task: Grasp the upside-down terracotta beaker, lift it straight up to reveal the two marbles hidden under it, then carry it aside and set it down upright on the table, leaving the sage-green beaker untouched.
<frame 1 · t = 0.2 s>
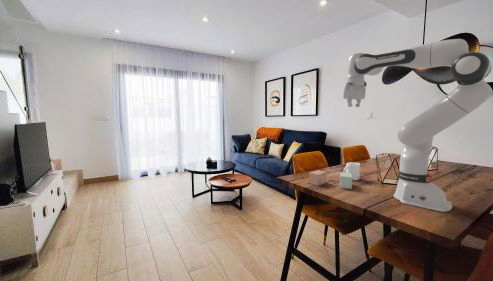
hand: (353, 106, 128), 47 cm above the table, fingers open, 8 cm apart
marble amber: (315, 183, 136), on the table
marble blue: (319, 182, 138), on the table
mug: (350, 179, 144), on the table
cup sage: (345, 185, 131), on the table
cup terracotta: (317, 183, 137), on the table
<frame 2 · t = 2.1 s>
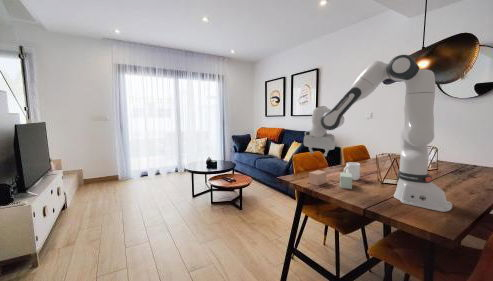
hand: (318, 155, 134), 18 cm above the table, fingers open, 8 cm apart
nothing on the table moved.
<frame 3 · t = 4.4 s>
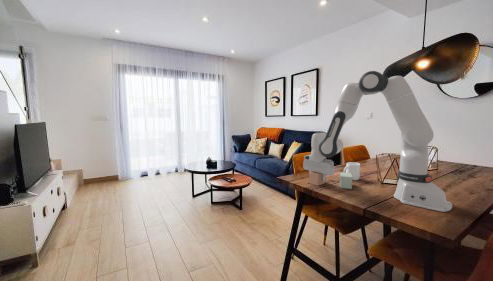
hand: (317, 179, 136), 3 cm above the table, fingers closed on cup terracotta, 6 cm apart
cup terracotta: (317, 183, 137), on the table, touching gripper
everything else where it was.
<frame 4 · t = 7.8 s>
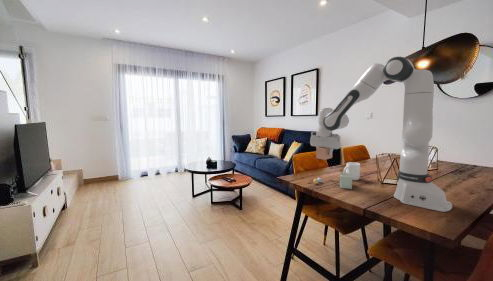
hand: (324, 154, 142), 17 cm above the table, fingers closed on cup terracotta, 6 cm apart
cup terracotta: (324, 157, 142), point 15 cm above the table, touching gripper
everything else where it was.
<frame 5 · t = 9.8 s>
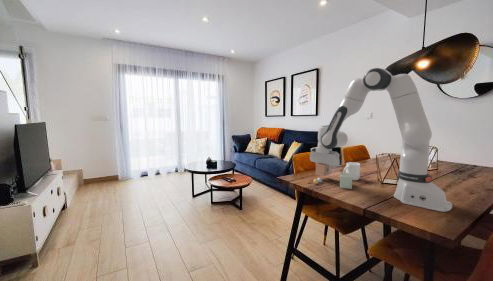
hand: (323, 170, 144), 6 cm above the table, fingers closed on cup terracotta, 6 cm apart
cup terracotta: (323, 174, 144), point 3 cm above the table, touching gripper
everything else where it was.
when the fingers open (4 cm above the table, at t = 11.2 s): cup terracotta drops 1 cm, on the table.
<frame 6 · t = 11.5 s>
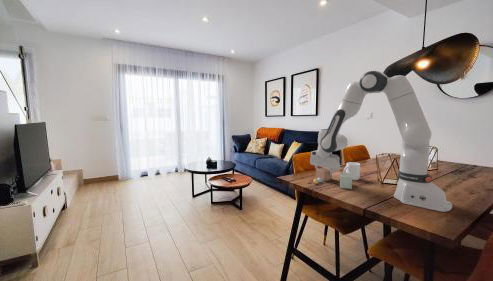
hand: (323, 173, 144), 4 cm above the table, fingers open, 8 cm apart
cup terracotta: (323, 179, 144), on the table
everything else where it was.
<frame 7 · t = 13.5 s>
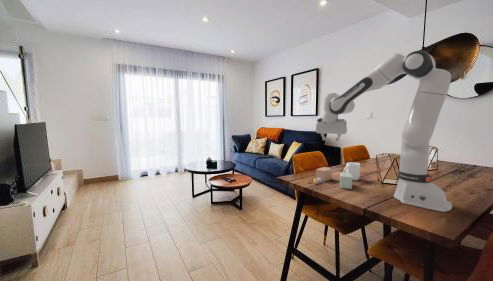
hand: (330, 140, 141), 26 cm above the table, fingers open, 8 cm apart
nothing on the table moved.
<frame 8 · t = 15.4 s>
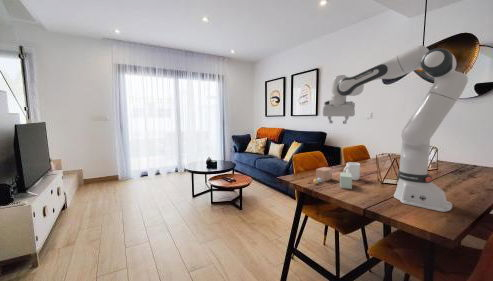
hand: (337, 123, 139), 37 cm above the table, fingers open, 8 cm apart
nothing on the table moved.
at the end: cup terracotta inside the target area (0.1 cm from its centre), on the table; cup terracotta tilted 0°; cup terracotta moved 10.2 cm from its start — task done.
